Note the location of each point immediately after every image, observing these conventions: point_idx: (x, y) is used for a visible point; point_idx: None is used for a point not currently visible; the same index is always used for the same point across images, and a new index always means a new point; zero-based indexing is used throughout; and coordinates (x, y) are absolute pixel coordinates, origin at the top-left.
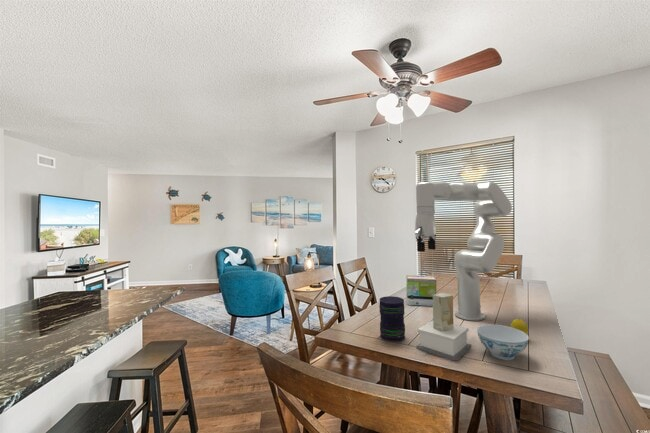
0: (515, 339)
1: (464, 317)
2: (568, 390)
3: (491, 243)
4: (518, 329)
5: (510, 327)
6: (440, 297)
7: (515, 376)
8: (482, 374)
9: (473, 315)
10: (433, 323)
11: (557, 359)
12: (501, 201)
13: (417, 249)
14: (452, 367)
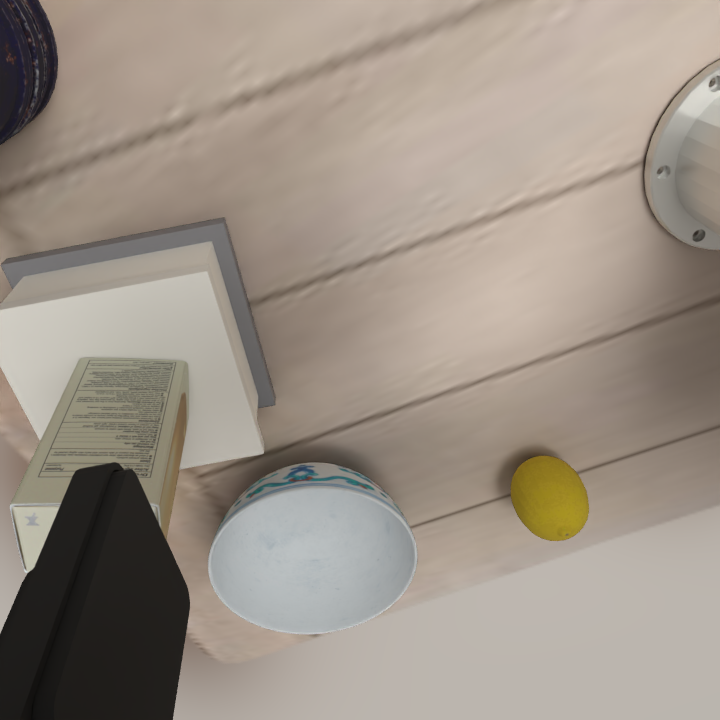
0: (391, 543)
1: (652, 174)
2: (244, 652)
3: None
4: (517, 512)
5: (415, 556)
6: (23, 559)
7: (190, 572)
8: None
9: (695, 218)
10: (72, 375)
11: (433, 584)
12: None
13: (68, 497)
14: (33, 451)
